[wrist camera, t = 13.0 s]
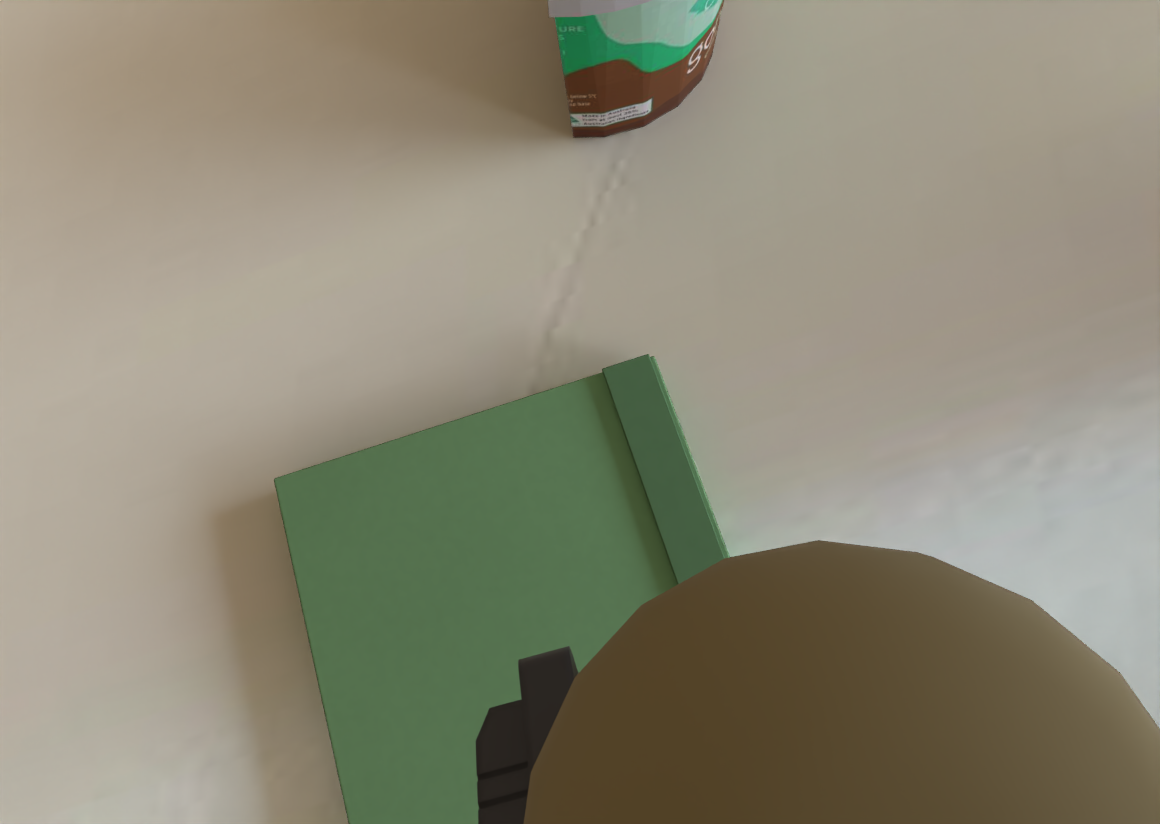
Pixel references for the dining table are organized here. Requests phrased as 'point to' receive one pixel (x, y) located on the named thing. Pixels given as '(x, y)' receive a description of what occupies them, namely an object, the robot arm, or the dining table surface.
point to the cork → (846, 705)
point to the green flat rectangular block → (483, 571)
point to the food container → (631, 58)
